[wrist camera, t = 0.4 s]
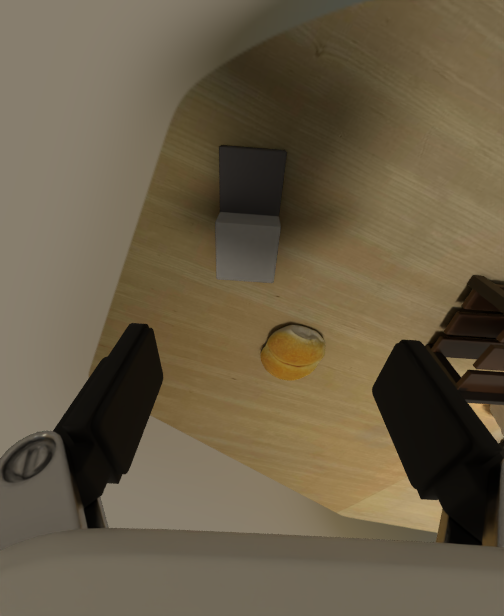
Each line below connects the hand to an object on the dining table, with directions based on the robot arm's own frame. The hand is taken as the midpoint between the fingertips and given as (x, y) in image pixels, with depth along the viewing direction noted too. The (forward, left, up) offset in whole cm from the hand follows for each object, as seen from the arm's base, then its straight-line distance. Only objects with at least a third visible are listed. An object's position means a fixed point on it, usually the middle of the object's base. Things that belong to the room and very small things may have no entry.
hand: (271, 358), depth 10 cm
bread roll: (+18, +5, -19) cm, 27 cm away
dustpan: (0, -2, -19) cm, 19 cm away
